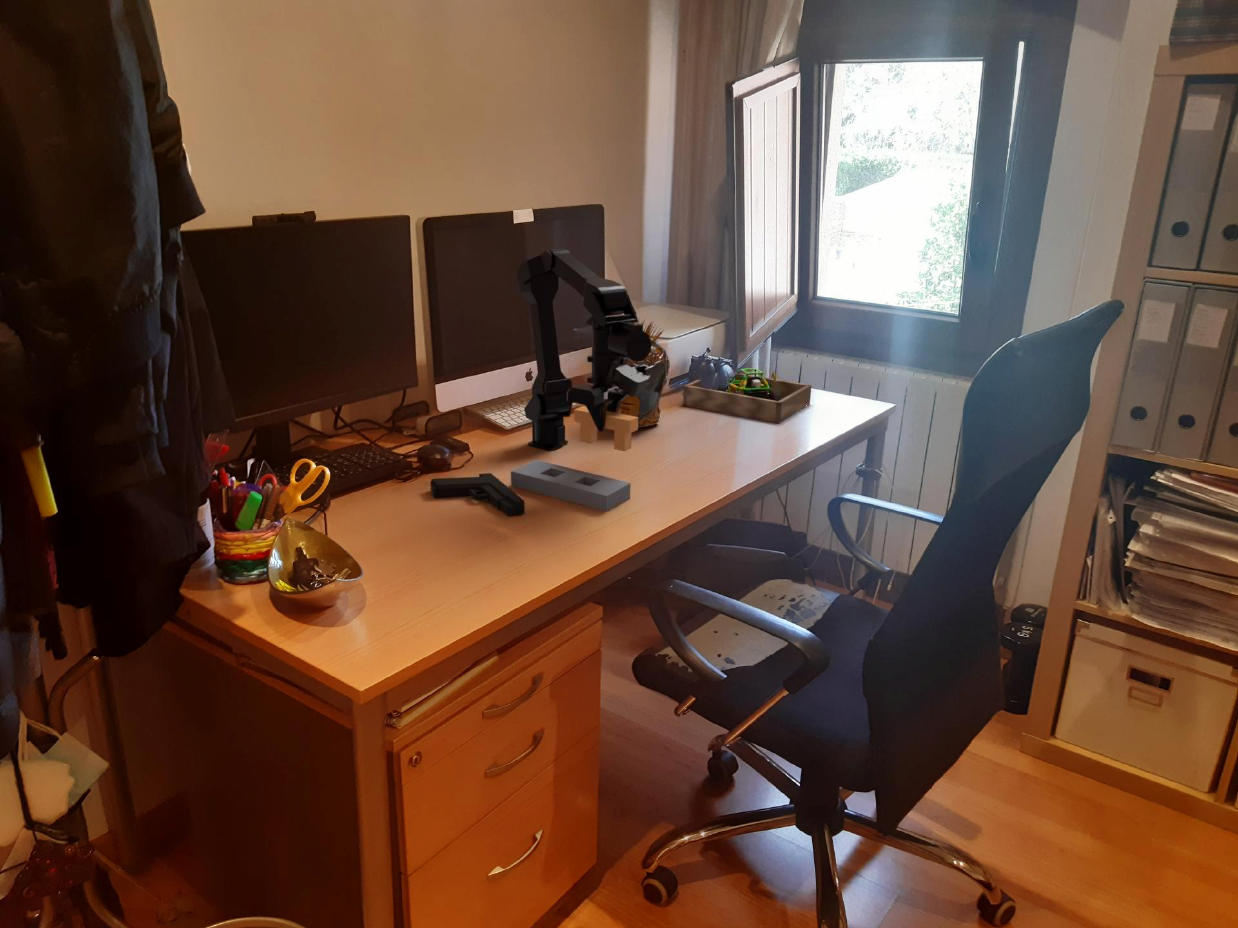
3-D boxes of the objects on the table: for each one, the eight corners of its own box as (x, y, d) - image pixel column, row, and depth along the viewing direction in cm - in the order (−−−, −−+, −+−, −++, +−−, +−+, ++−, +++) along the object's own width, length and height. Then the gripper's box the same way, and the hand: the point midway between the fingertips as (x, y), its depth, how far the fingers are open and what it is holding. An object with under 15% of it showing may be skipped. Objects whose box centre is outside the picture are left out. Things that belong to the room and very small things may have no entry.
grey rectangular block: (511, 485, 176) (510, 471, 175) (536, 473, 182) (536, 459, 181) (606, 511, 165) (607, 496, 164) (630, 497, 171) (630, 482, 170)
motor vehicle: (755, 393, 241) (758, 354, 238) (784, 414, 224) (787, 372, 220) (714, 395, 239) (716, 356, 235) (739, 417, 221) (742, 374, 217)
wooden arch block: (574, 440, 183) (574, 409, 180) (582, 437, 185) (582, 406, 183) (629, 453, 176) (630, 420, 174) (637, 449, 179) (638, 417, 176)
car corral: (683, 404, 231) (683, 385, 229) (718, 388, 247) (719, 370, 245) (778, 423, 218) (780, 402, 216) (809, 404, 234) (811, 385, 232)
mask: (596, 432, 208) (598, 323, 200) (631, 408, 227) (633, 308, 218) (647, 439, 204) (650, 329, 195) (678, 415, 222) (682, 313, 214)
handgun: (462, 514, 156) (526, 501, 162) (425, 478, 172) (485, 468, 177) (462, 529, 157) (526, 516, 163) (426, 492, 173) (485, 482, 178)
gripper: (616, 366, 163) (614, 449, 168) (667, 348, 178) (664, 424, 183) (565, 358, 168) (565, 438, 174) (619, 341, 183) (617, 415, 189)
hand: (605, 429), depth 180 cm, fingers closed on wooden arch block, 3 cm apart
